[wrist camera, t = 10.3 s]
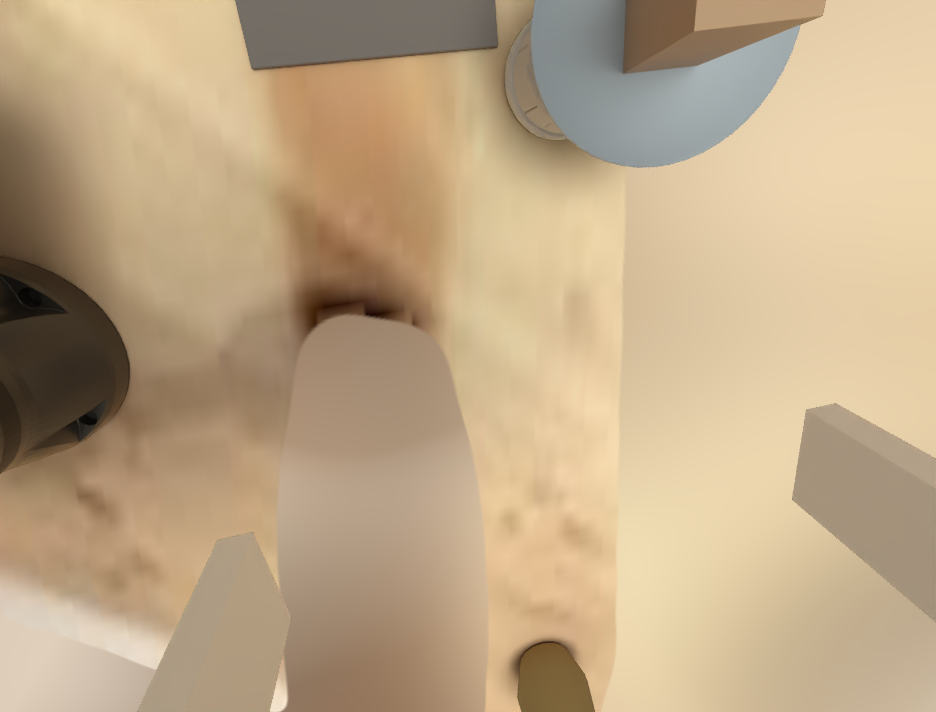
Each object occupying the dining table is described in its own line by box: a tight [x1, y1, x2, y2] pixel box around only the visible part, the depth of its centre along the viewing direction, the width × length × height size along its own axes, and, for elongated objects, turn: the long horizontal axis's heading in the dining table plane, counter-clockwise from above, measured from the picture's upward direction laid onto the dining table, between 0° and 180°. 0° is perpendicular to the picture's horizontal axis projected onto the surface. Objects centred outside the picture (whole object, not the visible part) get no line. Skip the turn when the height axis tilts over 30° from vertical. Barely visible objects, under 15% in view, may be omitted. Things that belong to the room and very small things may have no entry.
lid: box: [530, 0, 826, 168], centre depth 18 cm, size 12×12×11 cm
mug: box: [505, 19, 568, 140], centre depth 27 cm, size 8×12×12 cm, turn 104°
